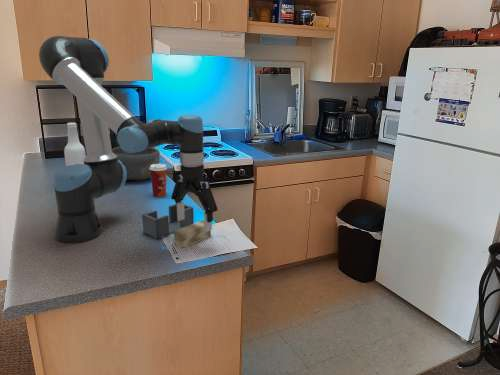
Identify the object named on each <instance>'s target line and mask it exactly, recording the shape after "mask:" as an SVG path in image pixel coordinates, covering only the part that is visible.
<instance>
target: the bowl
mask: <svg viewBox="0 0 500 375" xmlns="http://www.w3.org/2000/svg"><path fill="white" fill-rule="evenodd" d="M112 152H113V153H114V154H115V155H117V158H118V160H119V161H121V162H122V165H124V166H125V168H126V171H127V179H126V181H129V180H130V181H143V180H146V179H149V178H150V179H151V172H150V169H149V168H150V166H151V165H153V164H160V160H161V158H160V155H161V153H160V150H159V149H158V148H156V147H152V148H149V149H146V150H144V151H141V152H135V153H127V152H125V151H123V150H122V149H121V148H120V146H117V147H116V146H115V147H113V148H112Z"/></svg>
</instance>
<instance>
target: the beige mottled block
mask: <svg viewBox="0 0 500 375" xmlns="http://www.w3.org/2000/svg"><path fill="white" fill-rule="evenodd" d="M211 231H212V230H210V231H207V232H205V231H204V219H203V220H199V221H197V222H194V224H191V225H189V226H186V227H183V228H181V229H178V230H176V231H174V233H173V238H174V242H173V243H174V245H175V244H176V245H175V246H177V245H178V246H177V247H179V246H180V247H179V248H181V247H184V248H185V246H186V247H188V246H190V245H189V244H191V245H192V243H193V244H195V243H197V242H200V241H201V240H204V239H206V238H209V237H211V236H212V232H211ZM199 240H200V241H199ZM196 241H197V242H196ZM194 242H195V243H194ZM187 245H188V246H187Z"/></svg>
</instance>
